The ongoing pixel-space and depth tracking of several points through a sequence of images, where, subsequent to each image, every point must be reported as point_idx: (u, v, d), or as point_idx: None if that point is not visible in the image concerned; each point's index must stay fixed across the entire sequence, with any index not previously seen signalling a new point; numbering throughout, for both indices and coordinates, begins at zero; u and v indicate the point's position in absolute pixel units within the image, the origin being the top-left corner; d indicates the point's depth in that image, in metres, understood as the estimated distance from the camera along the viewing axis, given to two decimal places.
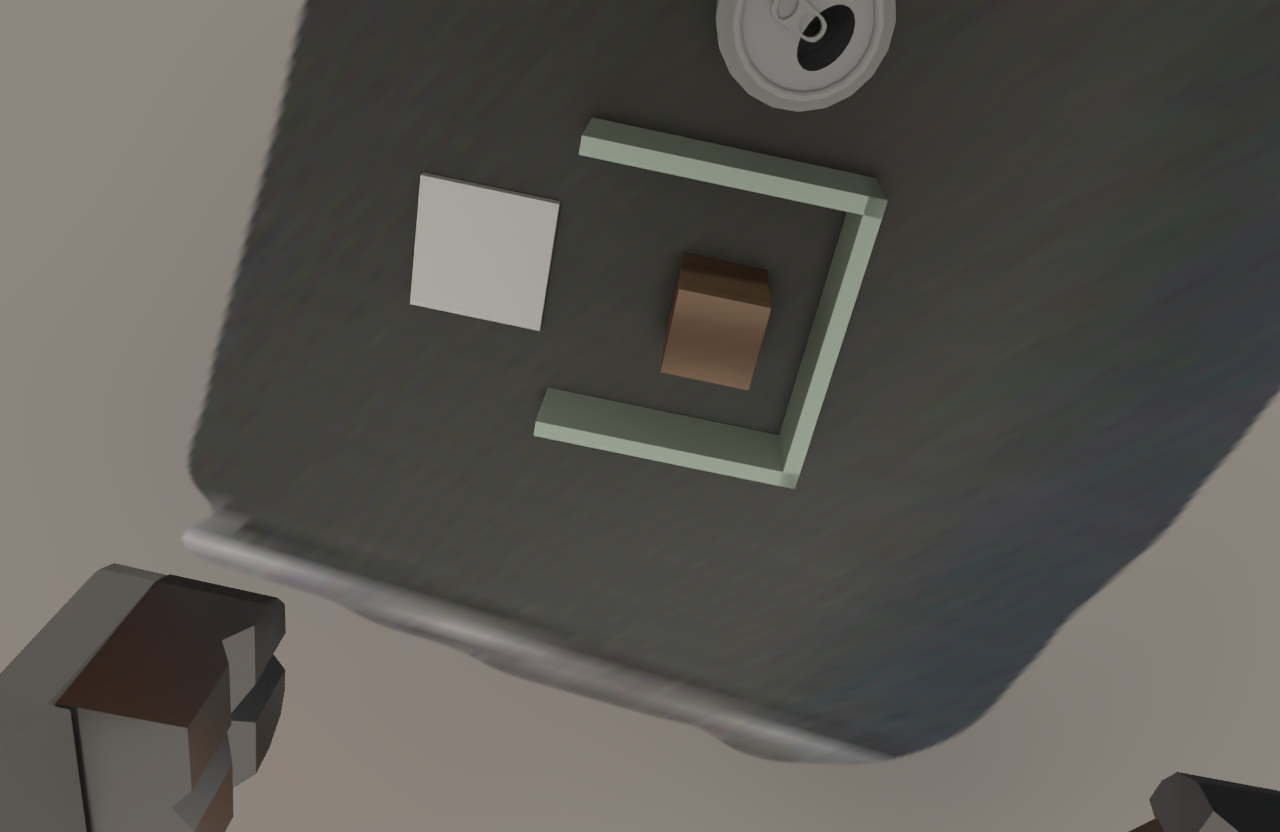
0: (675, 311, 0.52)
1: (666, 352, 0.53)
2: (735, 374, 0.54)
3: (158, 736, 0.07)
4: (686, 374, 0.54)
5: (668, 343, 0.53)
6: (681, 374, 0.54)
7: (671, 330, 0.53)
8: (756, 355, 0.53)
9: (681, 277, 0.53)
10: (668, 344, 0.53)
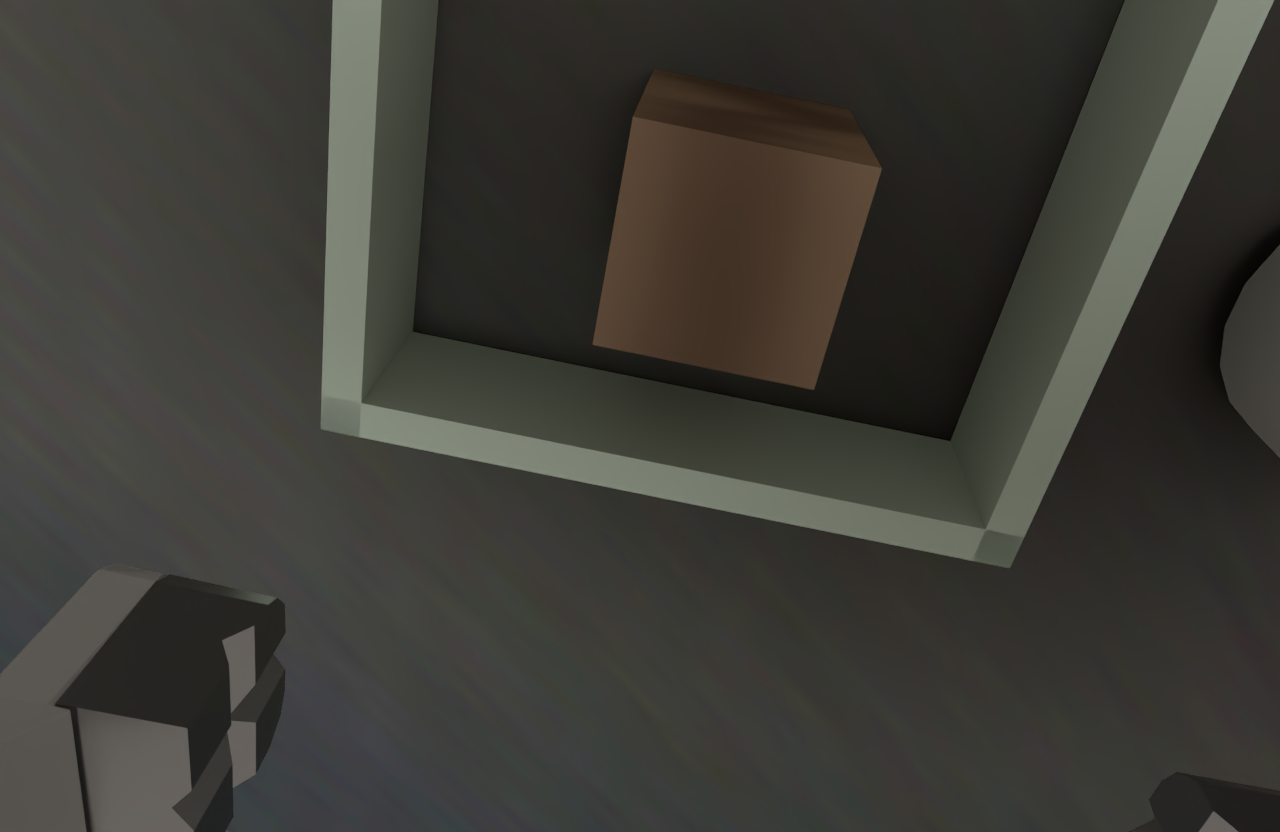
0: (816, 158, 0.19)
1: (693, 133, 0.19)
2: (634, 313, 0.21)
3: (158, 736, 0.07)
4: (629, 189, 0.20)
5: (721, 139, 0.19)
6: (628, 176, 0.20)
7: (760, 147, 0.19)
8: (689, 360, 0.21)
9: (869, 149, 0.21)
10: (718, 139, 0.19)
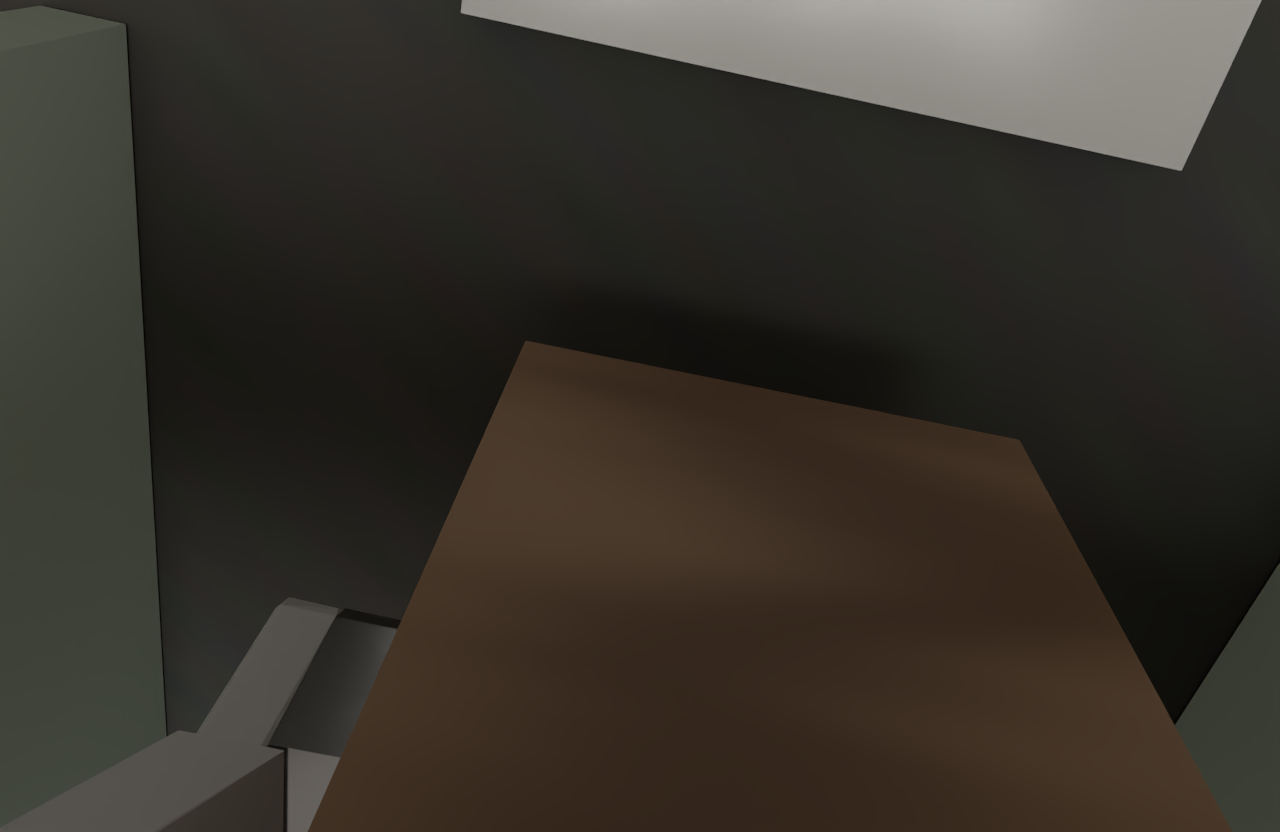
0: None
1: None
2: None
3: None
4: None
5: None
6: None
7: None
8: None
9: (1196, 780, 0.06)
10: None
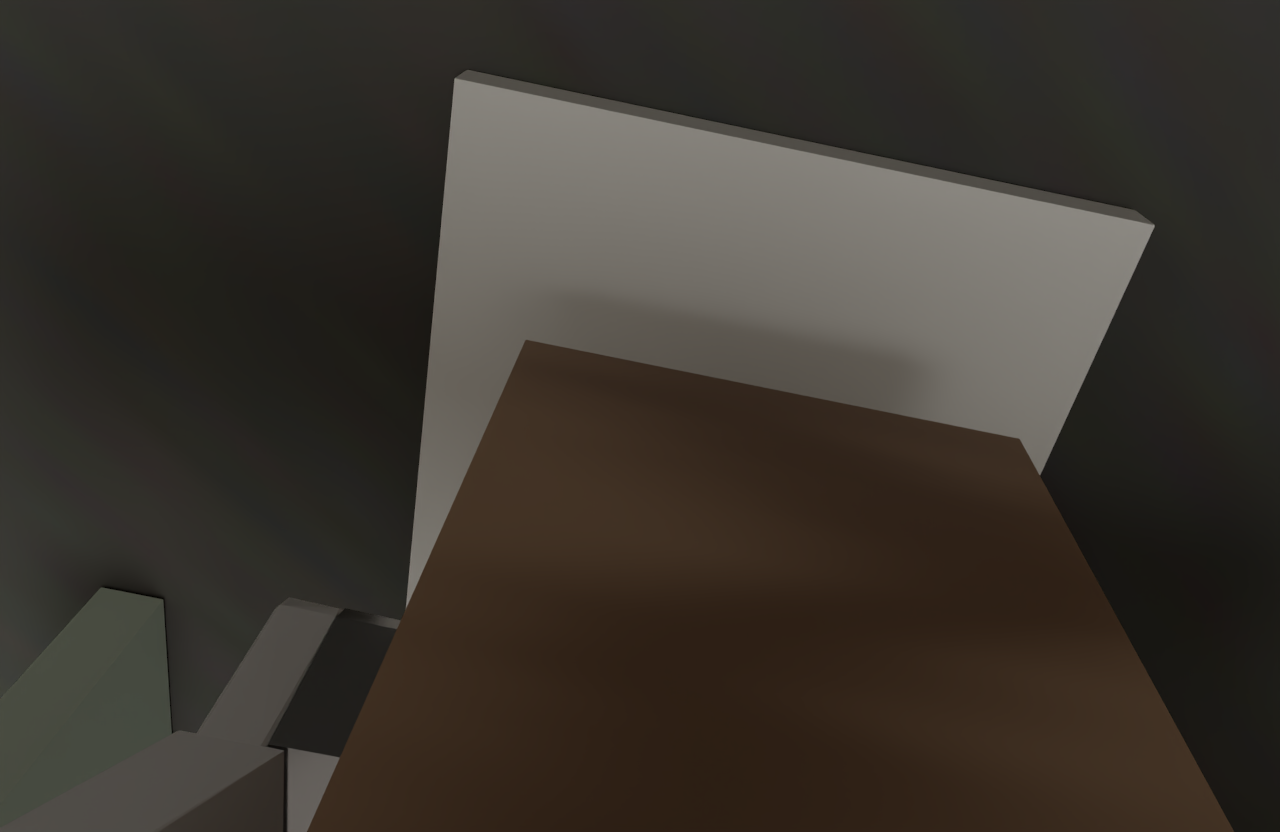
0: None
1: None
2: None
3: None
4: None
5: None
6: None
7: None
8: None
9: (1197, 780, 0.06)
10: None
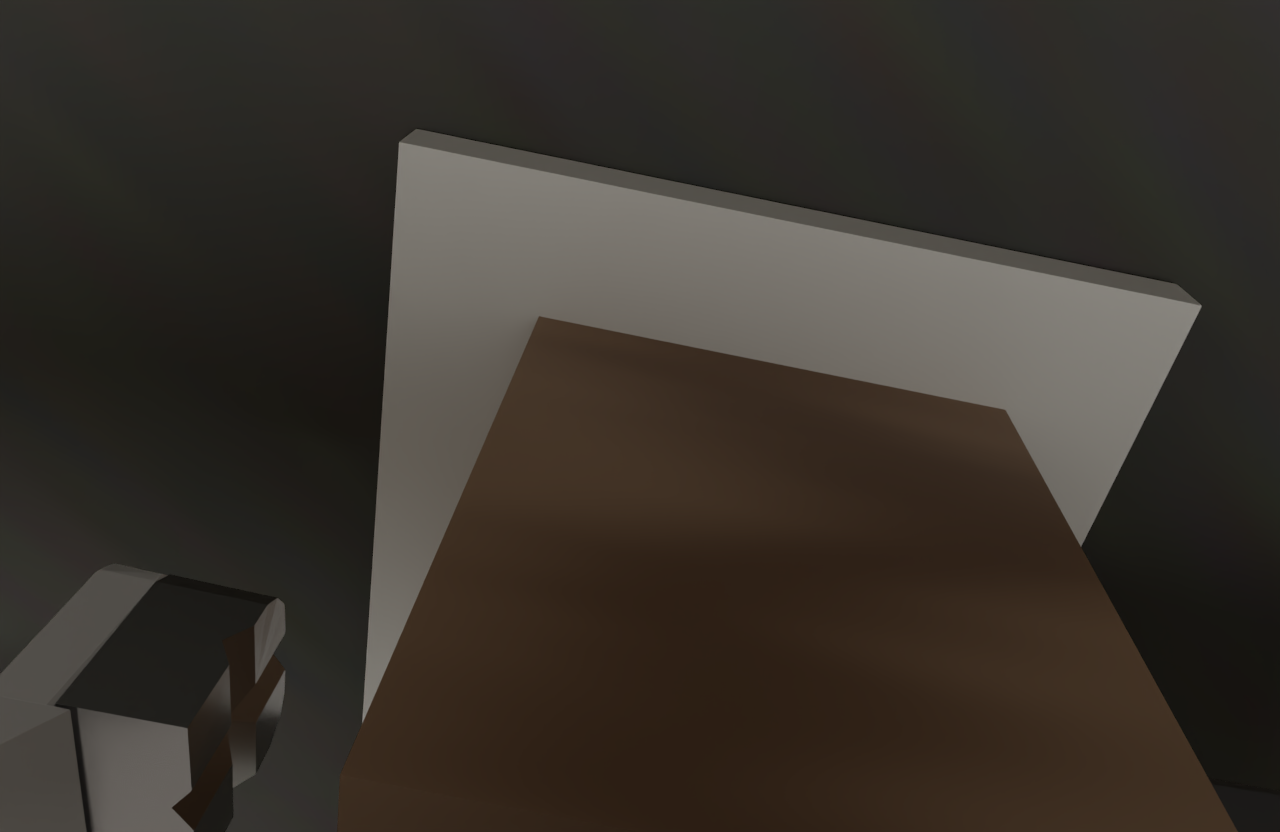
0: None
1: (581, 831, 0.05)
2: None
3: (156, 736, 0.07)
4: None
5: None
6: None
7: None
8: None
9: (1160, 705, 0.07)
10: None
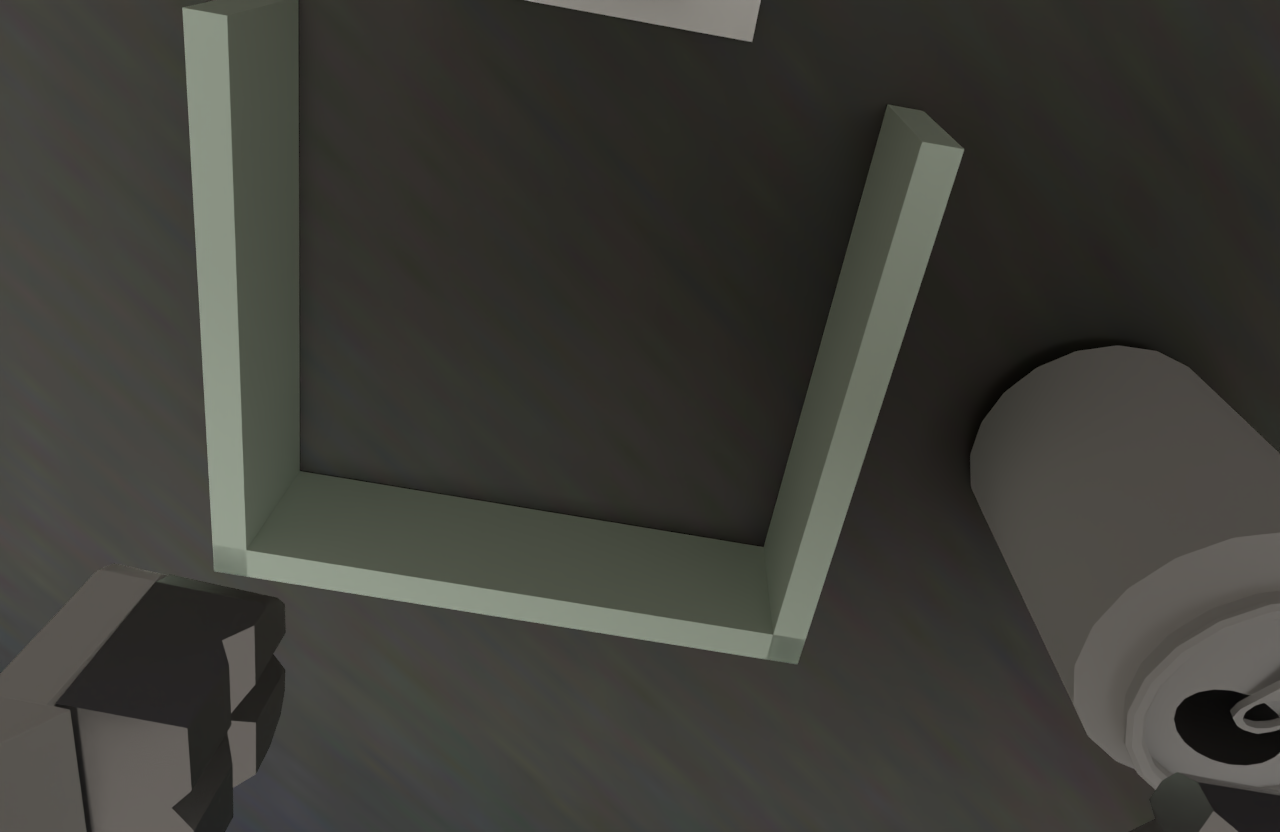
0: None
1: None
2: None
3: (156, 736, 0.07)
4: None
5: None
6: None
7: None
8: None
9: None
10: None
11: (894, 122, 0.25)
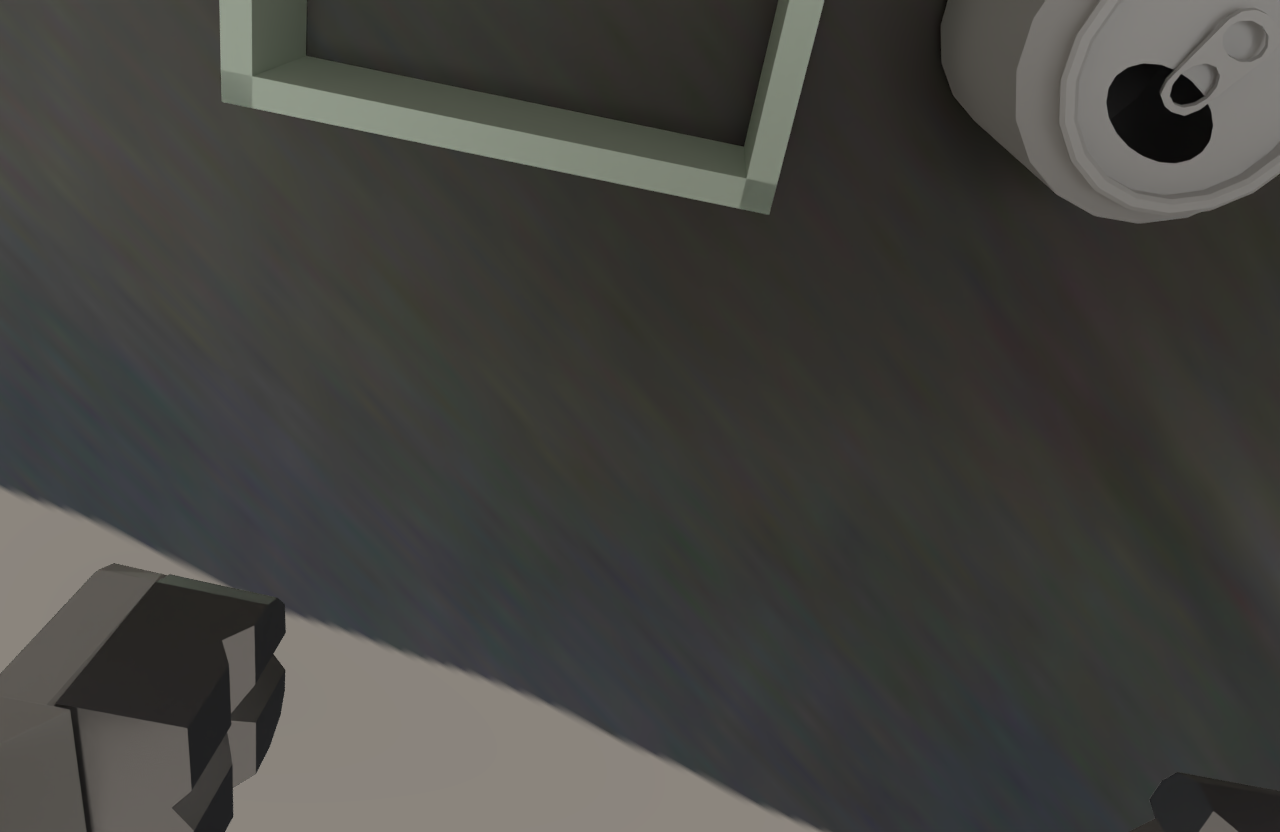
0: None
1: None
2: None
3: (156, 736, 0.07)
4: None
5: None
6: None
7: None
8: None
9: None
10: None
11: None
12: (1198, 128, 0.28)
